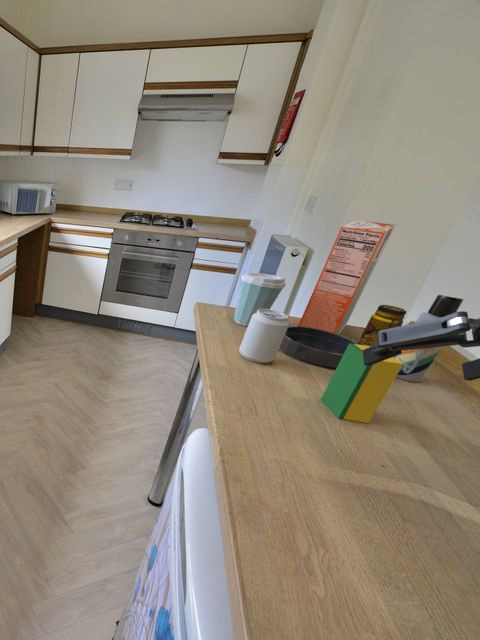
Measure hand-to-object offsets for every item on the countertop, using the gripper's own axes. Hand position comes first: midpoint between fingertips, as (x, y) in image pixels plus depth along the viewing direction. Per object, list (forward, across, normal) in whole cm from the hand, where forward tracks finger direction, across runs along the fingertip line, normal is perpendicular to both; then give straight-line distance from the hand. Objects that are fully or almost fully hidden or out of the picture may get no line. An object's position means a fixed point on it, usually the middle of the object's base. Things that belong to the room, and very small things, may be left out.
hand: (414, 365), depth 67 cm
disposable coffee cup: (+50, -4, +28) cm, 57 cm away
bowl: (+38, +7, +16) cm, 41 cm away
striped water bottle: (+33, +22, +11) cm, 42 cm away
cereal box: (+51, +16, +29) cm, 61 cm away
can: (+32, -9, +10) cm, 34 cm away
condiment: (+44, +24, +22) cm, 55 cm away
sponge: (+17, 0, -4) cm, 18 cm away
